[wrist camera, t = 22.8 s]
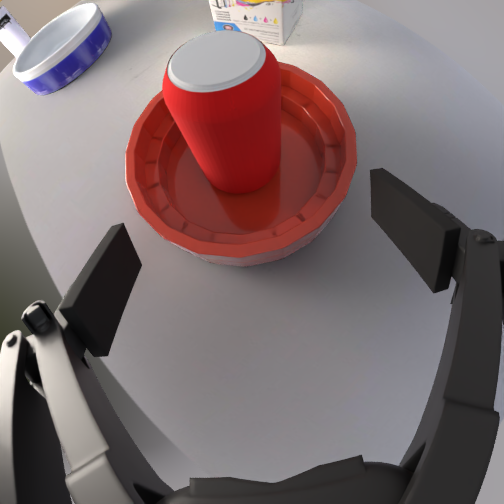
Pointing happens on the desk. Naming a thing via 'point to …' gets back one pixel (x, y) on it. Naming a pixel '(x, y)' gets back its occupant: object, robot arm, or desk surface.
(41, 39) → the dog bowl
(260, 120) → the beverage can
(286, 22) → the ink box
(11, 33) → the perfume bottle
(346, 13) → the desk surface
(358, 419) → the desk surface
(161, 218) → the red bowl
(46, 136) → the desk surface
